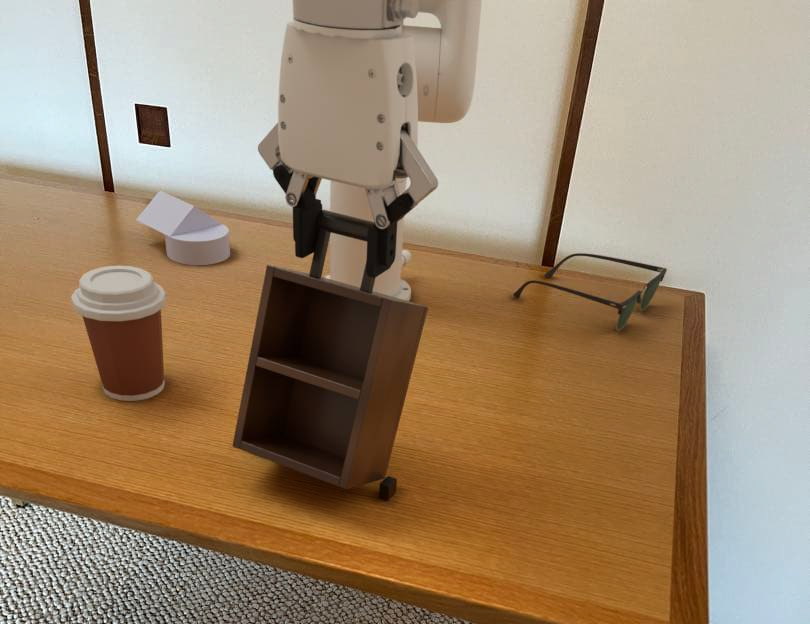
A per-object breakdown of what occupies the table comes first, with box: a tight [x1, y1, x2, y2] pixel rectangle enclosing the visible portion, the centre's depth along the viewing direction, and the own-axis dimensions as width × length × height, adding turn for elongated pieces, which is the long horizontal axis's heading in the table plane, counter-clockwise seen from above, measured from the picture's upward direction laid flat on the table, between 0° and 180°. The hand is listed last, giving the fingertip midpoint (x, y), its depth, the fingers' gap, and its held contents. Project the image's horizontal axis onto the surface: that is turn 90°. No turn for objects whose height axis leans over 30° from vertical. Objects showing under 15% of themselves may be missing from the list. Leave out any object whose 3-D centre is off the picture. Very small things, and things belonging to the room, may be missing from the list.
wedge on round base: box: [135, 190, 231, 266], centre depth 117 cm, size 9×7×13 cm
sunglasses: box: [512, 252, 668, 331], centre depth 112 cm, size 16×17×5 cm
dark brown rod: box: [378, 475, 398, 502], centre depth 78 cm, size 2×15×2 cm, turn 62°
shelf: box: [231, 209, 429, 490], centre depth 71 cm, size 21×12×8 cm
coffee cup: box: [70, 265, 167, 402], centre depth 84 cm, size 9×9×12 cm
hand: (343, 260), depth 67 cm, fingers closed on shelf, 6 cm apart
